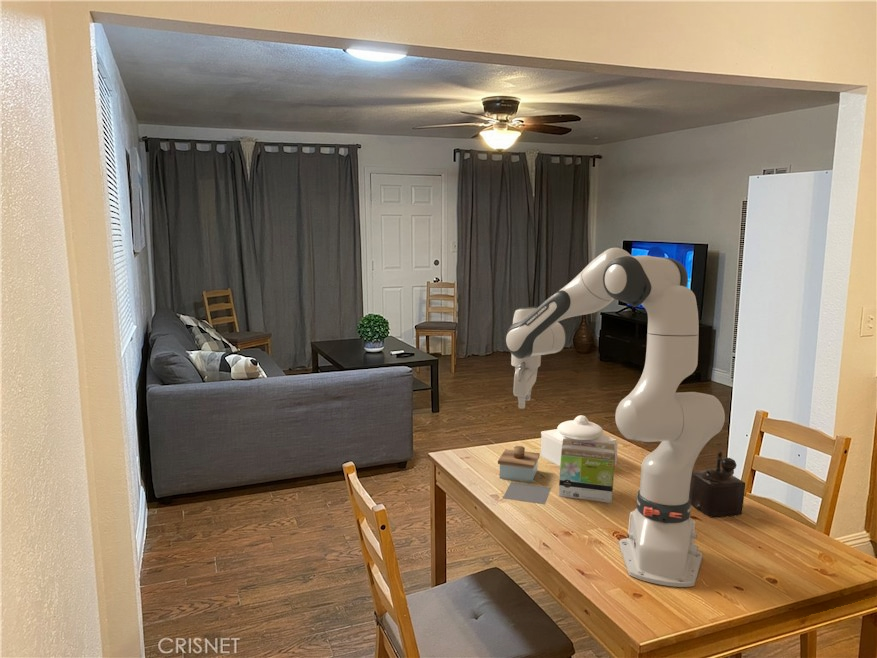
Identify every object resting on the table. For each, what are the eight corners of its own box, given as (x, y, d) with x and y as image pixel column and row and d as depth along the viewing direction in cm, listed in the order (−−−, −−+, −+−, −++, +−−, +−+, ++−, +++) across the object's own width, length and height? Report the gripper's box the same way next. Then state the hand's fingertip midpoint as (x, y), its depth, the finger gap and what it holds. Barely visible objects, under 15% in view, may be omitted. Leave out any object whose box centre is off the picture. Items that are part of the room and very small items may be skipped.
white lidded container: (574, 475, 197) (576, 426, 195) (539, 456, 213) (541, 411, 211) (616, 466, 205) (619, 419, 203) (580, 448, 221) (582, 405, 219)
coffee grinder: (684, 502, 178) (689, 441, 175) (717, 498, 181) (723, 439, 178) (720, 527, 163) (727, 461, 161) (757, 523, 166) (763, 458, 163)
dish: (531, 483, 190) (532, 467, 189) (499, 479, 193) (499, 463, 192) (537, 471, 199) (537, 456, 199) (506, 467, 202) (506, 452, 202)
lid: (533, 468, 188) (534, 456, 188) (497, 464, 192) (498, 451, 191) (539, 456, 199) (540, 444, 198) (505, 452, 202) (505, 440, 202)
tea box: (558, 498, 180) (560, 448, 178) (559, 484, 190) (562, 437, 187) (612, 504, 177) (615, 453, 174) (611, 490, 186) (614, 442, 184)
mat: (544, 505, 175) (544, 504, 175) (502, 499, 179) (502, 498, 179) (550, 488, 186) (550, 487, 186) (510, 483, 190) (510, 482, 190)
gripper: (530, 367, 179) (529, 414, 181) (541, 354, 199) (539, 397, 201) (508, 365, 181) (507, 412, 183) (521, 353, 200) (520, 395, 203)
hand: (524, 404), depth 192 cm, fingers open, 8 cm apart
